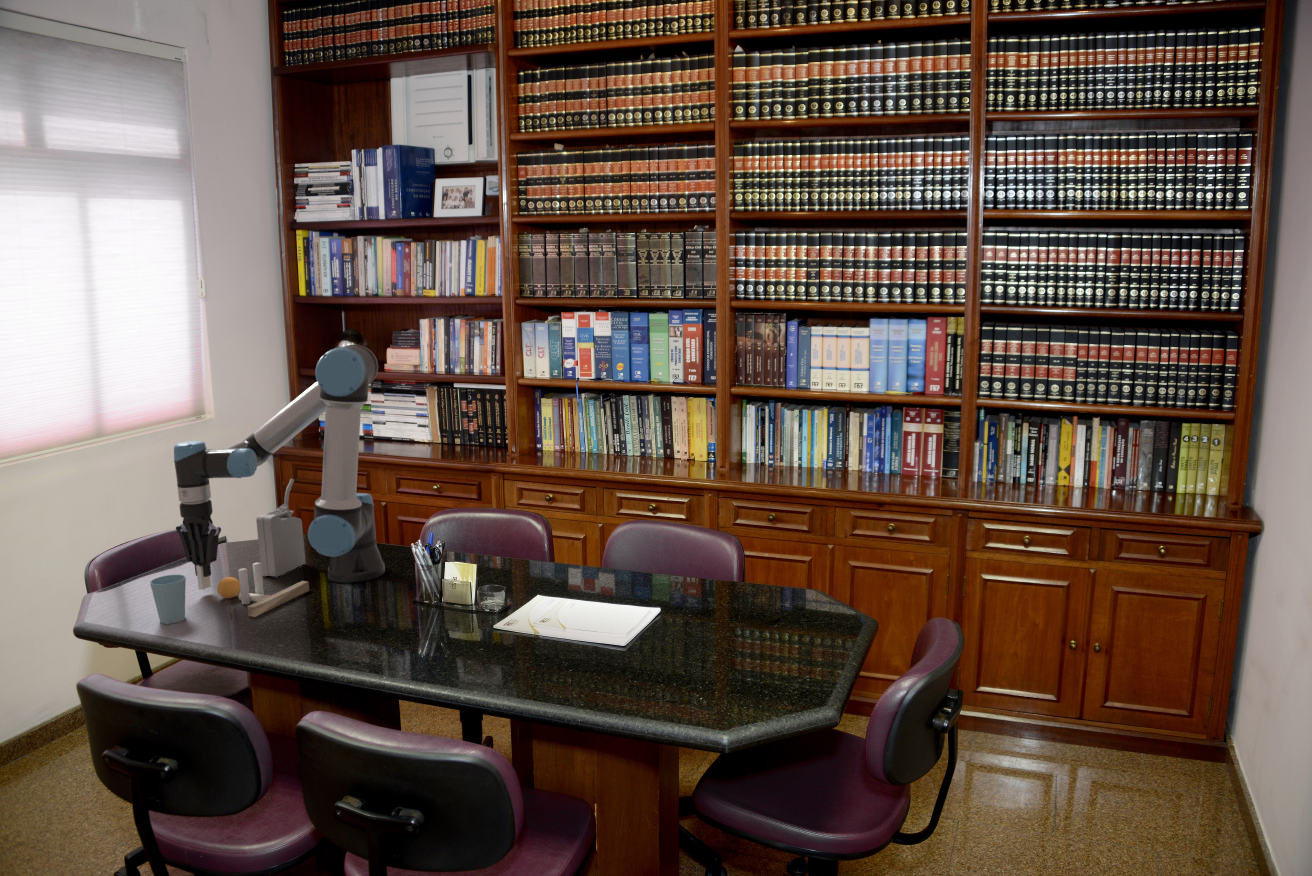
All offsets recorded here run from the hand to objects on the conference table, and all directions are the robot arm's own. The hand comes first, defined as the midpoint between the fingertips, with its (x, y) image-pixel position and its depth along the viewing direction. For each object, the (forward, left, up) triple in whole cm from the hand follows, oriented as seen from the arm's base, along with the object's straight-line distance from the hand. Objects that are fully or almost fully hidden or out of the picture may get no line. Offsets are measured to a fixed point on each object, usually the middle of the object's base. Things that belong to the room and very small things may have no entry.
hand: (204, 587), depth 245 cm
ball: (-8, 0, +1) cm, 8 cm away
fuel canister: (-6, -24, -2) cm, 25 cm away
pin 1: (-16, +2, -2) cm, 16 cm away
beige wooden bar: (-24, 0, -2) cm, 24 cm away
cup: (-6, +17, -2) cm, 19 cm away
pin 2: (-16, -2, -2) cm, 16 cm away
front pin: (-12, 0, -1) cm, 12 cm away
